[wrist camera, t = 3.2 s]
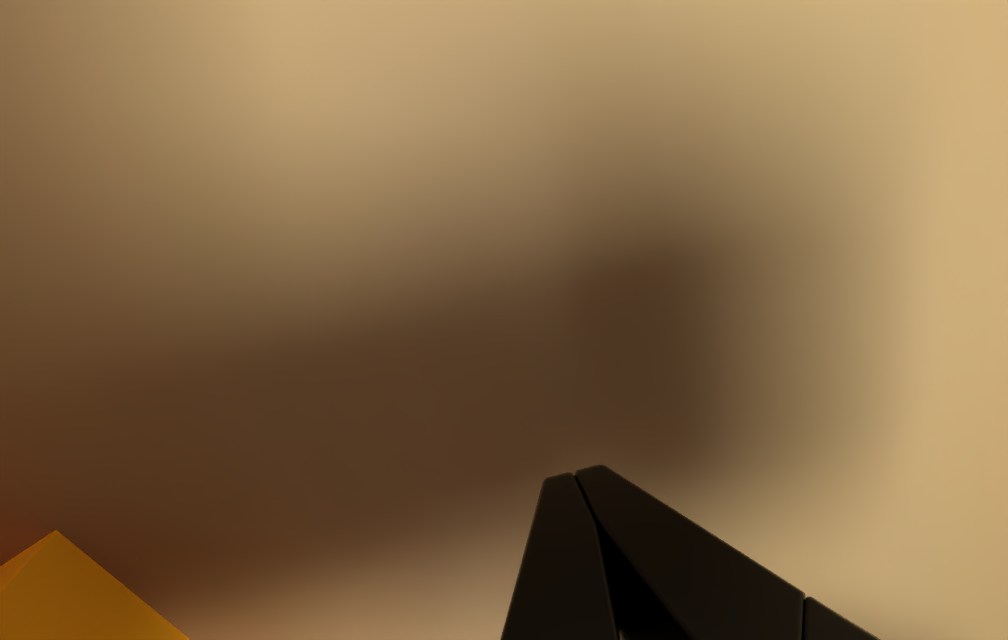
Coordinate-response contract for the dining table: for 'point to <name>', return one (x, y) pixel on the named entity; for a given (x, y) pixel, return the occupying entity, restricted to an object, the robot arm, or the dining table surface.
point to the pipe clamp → (71, 599)
